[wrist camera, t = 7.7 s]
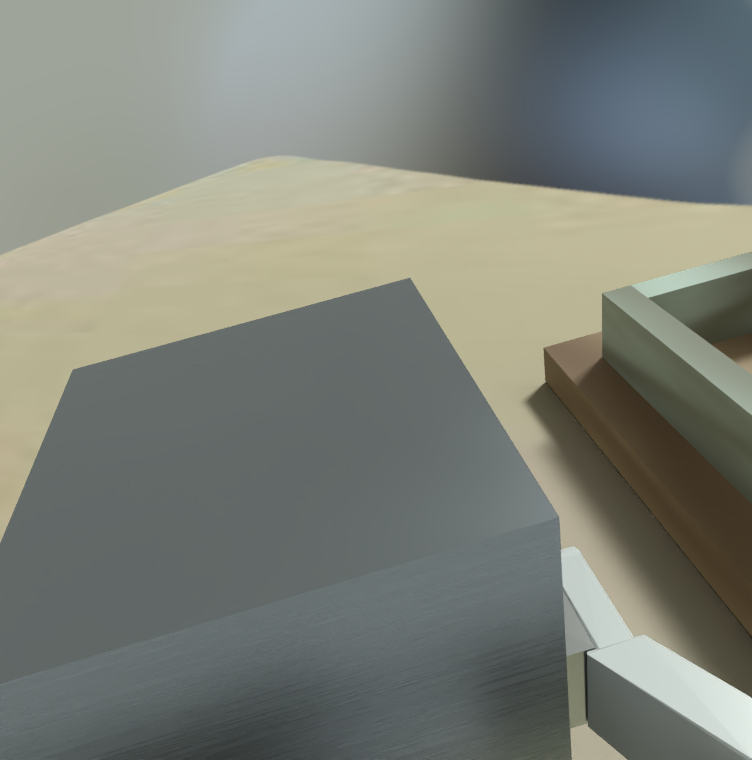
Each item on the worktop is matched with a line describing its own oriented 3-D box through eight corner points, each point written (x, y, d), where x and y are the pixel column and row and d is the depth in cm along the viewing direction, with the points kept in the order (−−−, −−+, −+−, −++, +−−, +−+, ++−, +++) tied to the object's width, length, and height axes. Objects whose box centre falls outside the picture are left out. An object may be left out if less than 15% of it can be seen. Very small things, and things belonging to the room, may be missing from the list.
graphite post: (328, 1057, 10) (-67, 703, 4) (302, 776, 14) (73, 369, 8) (582, 971, 10) (559, 517, 4) (491, 716, 14) (409, 277, 8)
